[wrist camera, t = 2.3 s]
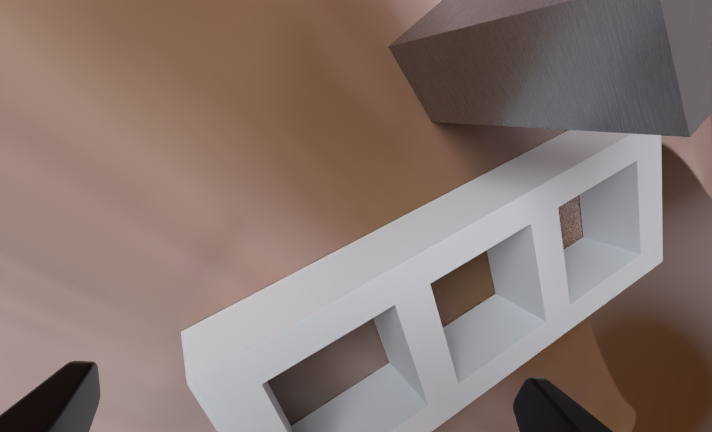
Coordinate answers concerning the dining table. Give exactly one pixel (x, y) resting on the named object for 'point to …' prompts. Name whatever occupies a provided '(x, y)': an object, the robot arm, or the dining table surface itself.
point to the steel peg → (564, 64)
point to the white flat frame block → (416, 300)
